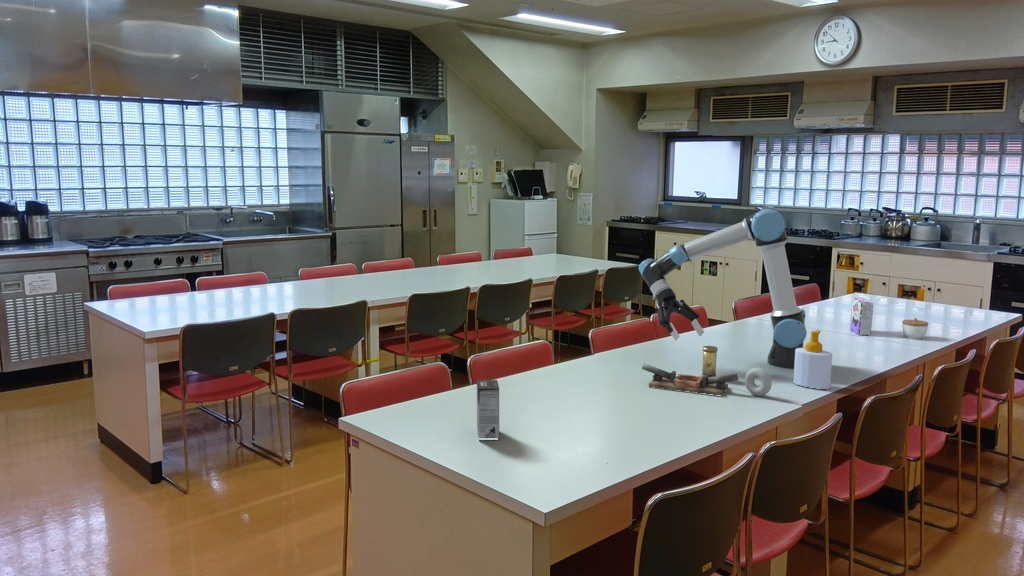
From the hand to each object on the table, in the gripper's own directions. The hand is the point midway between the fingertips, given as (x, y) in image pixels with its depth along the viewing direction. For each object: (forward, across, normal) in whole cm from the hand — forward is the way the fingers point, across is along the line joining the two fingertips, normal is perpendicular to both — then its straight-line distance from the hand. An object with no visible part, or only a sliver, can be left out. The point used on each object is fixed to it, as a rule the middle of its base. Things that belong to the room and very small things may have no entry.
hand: (689, 336), depth 291 cm
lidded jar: (+22, -133, +1) cm, 135 cm away
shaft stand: (+21, +16, 0) cm, 26 cm away
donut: (+35, +3, +15) cm, 38 cm away
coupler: (+17, 0, -3) cm, 18 cm away
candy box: (+7, -122, -13) cm, 123 cm away
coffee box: (+22, +102, +1) cm, 105 cm away
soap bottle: (+37, -24, +17) cm, 47 cm away
